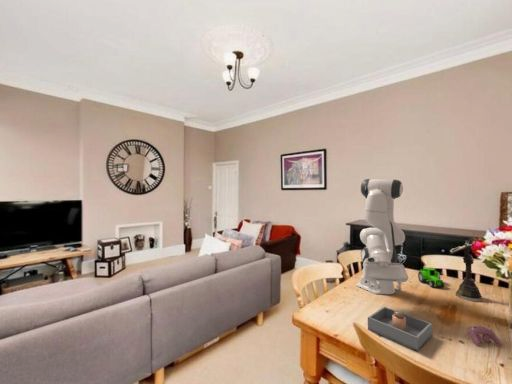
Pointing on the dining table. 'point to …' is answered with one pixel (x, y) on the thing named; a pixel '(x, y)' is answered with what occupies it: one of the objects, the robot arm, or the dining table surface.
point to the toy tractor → (430, 277)
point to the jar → (399, 320)
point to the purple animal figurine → (486, 335)
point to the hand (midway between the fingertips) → (388, 289)
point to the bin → (412, 338)
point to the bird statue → (467, 276)
